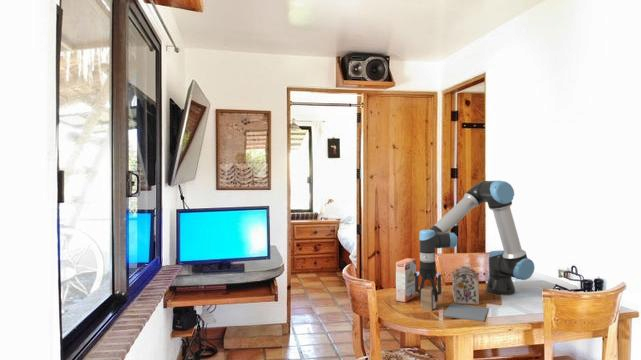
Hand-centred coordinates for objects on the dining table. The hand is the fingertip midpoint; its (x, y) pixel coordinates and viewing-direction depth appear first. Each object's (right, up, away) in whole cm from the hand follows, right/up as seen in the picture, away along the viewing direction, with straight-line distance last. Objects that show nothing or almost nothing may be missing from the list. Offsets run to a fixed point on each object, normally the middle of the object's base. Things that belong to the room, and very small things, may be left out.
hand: (428, 307), depth 202 cm
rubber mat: (+16, 0, -8) cm, 18 cm away
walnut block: (0, 0, 0) cm, 0 cm away
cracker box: (-8, -1, +15) cm, 17 cm away
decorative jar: (+22, 0, +10) cm, 24 cm away
